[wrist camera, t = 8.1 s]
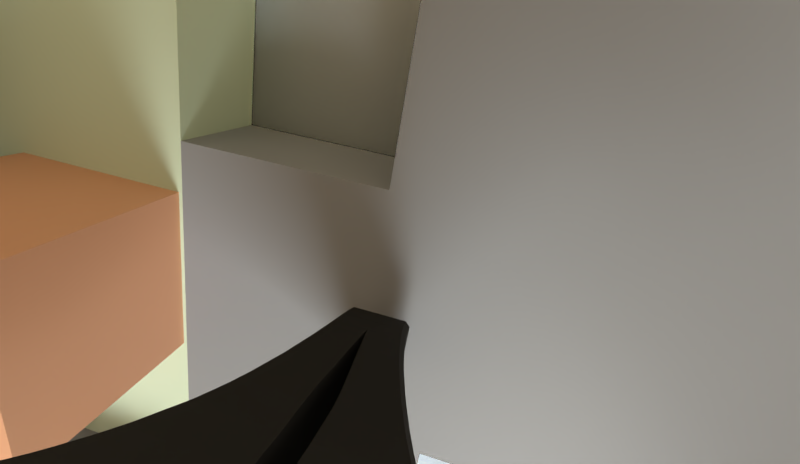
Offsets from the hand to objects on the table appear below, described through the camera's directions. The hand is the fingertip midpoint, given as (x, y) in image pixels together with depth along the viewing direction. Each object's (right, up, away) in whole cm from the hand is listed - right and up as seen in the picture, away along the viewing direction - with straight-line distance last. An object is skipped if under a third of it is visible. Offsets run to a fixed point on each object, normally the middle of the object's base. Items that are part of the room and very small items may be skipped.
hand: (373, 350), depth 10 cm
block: (-7, +2, +2) cm, 8 cm away
